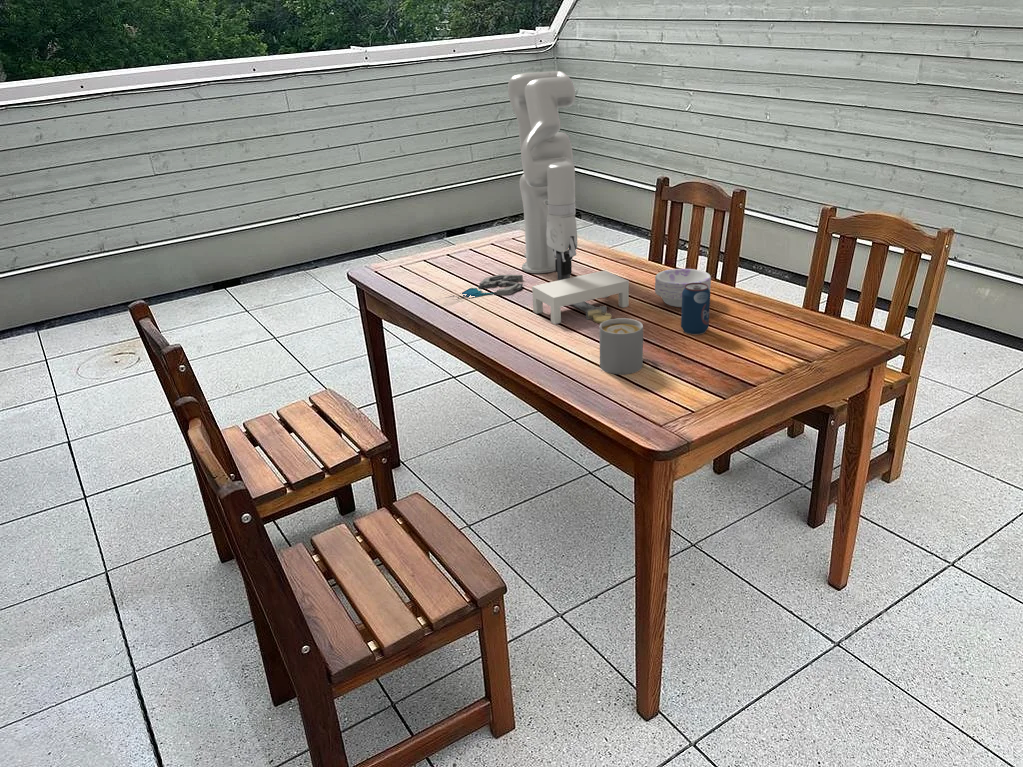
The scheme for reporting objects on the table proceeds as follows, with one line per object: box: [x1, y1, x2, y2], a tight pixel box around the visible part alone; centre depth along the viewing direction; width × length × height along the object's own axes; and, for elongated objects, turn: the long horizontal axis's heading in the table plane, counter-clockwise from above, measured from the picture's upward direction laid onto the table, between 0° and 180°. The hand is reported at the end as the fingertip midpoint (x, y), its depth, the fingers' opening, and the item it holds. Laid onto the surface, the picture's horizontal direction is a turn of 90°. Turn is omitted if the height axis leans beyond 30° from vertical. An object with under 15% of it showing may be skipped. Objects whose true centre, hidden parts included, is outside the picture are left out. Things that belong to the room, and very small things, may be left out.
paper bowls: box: [654, 268, 712, 308], centre depth 216 cm, size 15×15×8 cm
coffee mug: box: [598, 317, 644, 375], centre depth 180 cm, size 13×10×10 cm
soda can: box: [680, 283, 711, 336], centre depth 196 cm, size 7×7×12 cm
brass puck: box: [592, 312, 613, 325], centre depth 208 cm, size 5×5×2 cm
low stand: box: [531, 270, 630, 325], centre depth 216 cm, size 12×24×8 cm, turn 117°
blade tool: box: [556, 252, 608, 320], centre depth 215 cm, size 19×6×14 cm, turn 27°
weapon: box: [461, 274, 524, 300], centre depth 236 cm, size 34×2×15 cm
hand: (563, 272), depth 221 cm, fingers closed on blade tool
